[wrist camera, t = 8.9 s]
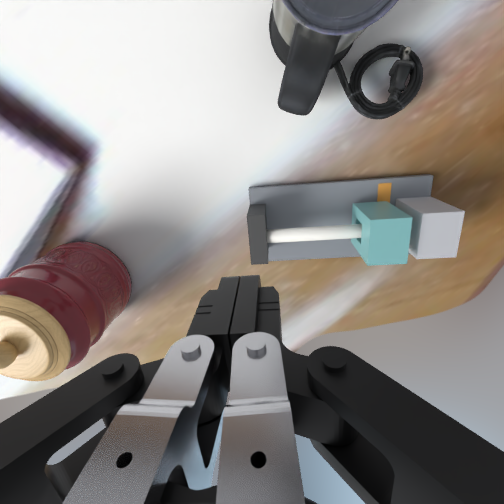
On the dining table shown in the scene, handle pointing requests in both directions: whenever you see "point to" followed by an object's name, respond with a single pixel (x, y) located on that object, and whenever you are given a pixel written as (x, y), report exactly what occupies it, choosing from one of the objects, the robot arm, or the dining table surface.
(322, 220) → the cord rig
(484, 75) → the dining table surface
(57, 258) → the canister
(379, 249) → the sleeve
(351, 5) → the milk frother
